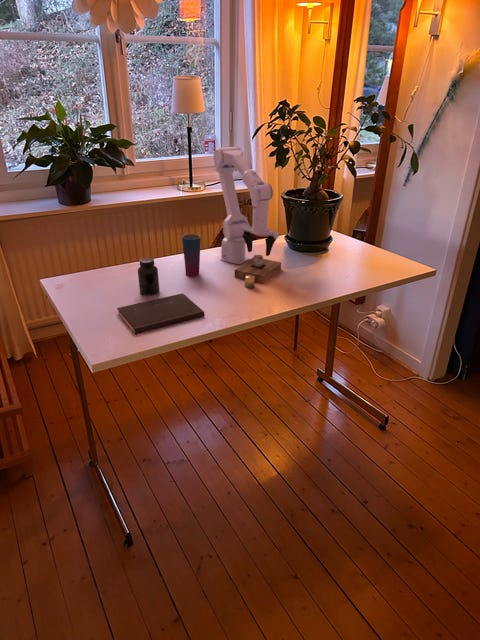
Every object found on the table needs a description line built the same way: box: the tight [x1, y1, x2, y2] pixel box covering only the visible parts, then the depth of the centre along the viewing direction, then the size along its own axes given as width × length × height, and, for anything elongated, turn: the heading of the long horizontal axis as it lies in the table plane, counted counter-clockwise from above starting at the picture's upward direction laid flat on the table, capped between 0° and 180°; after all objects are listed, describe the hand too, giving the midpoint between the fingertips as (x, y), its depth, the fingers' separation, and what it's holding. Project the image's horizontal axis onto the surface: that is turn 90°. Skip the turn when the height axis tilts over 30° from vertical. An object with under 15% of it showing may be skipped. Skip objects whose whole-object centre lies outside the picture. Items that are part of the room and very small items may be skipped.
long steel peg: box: [253, 254, 264, 269], centre depth 179 cm, size 3×3×7 cm
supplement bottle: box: [137, 257, 160, 296], centre depth 161 cm, size 7×7×12 cm
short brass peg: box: [244, 275, 255, 290], centre depth 169 cm, size 3×3×4 cm
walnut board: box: [234, 256, 282, 284], centre depth 180 cm, size 12×16×3 cm
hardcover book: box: [116, 293, 205, 335], centre depth 149 cm, size 16×23×2 cm
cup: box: [181, 233, 201, 278], centre depth 175 cm, size 7×7×15 cm
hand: (258, 253), depth 177 cm, fingers open, 7 cm apart
